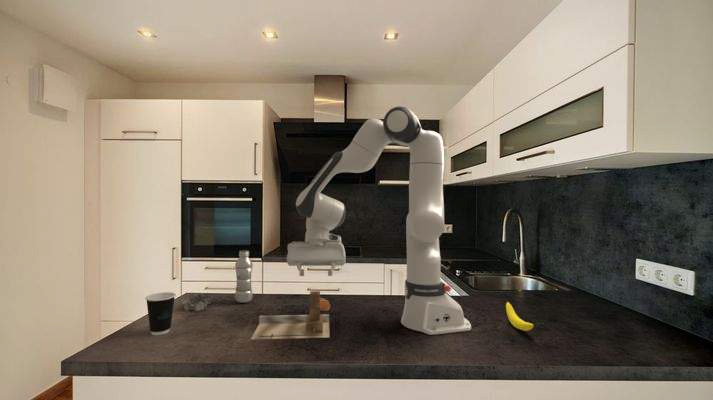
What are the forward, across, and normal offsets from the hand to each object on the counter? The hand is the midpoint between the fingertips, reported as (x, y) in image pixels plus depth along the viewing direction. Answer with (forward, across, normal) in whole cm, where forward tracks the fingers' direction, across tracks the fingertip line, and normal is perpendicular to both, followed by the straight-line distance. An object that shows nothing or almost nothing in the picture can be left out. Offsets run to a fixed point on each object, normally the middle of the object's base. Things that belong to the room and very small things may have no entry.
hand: (315, 275), depth 112 cm
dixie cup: (+15, -46, +7) cm, 49 cm away
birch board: (+18, -6, +4) cm, 19 cm away
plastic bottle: (-4, -28, +27) cm, 39 cm away
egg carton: (-1, -44, +24) cm, 50 cm away
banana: (+18, +66, +4) cm, 68 cm away
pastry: (+3, +2, +19) cm, 20 cm away
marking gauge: (+17, 0, +3) cm, 17 cm away
